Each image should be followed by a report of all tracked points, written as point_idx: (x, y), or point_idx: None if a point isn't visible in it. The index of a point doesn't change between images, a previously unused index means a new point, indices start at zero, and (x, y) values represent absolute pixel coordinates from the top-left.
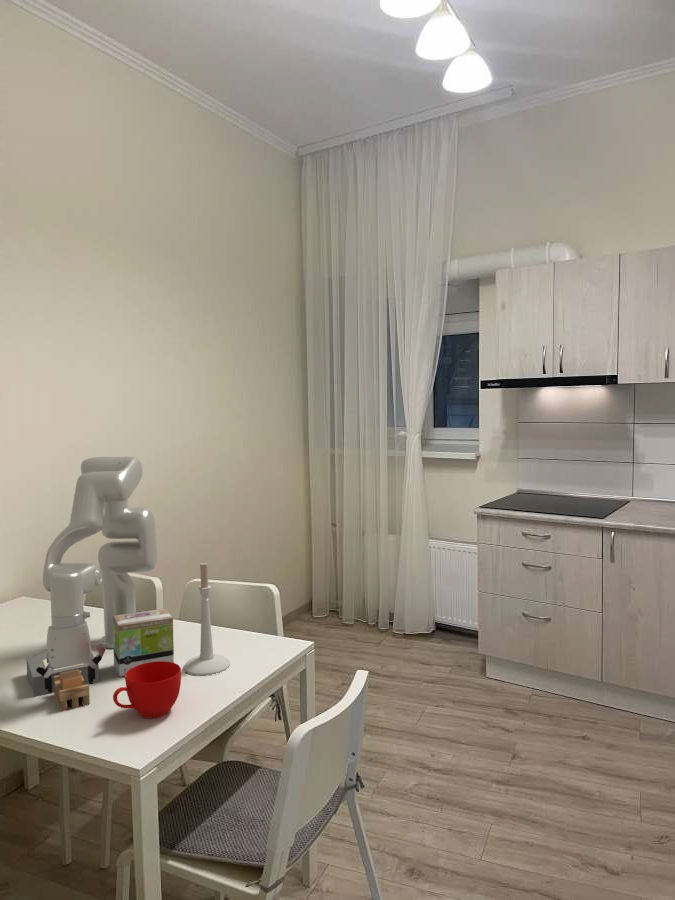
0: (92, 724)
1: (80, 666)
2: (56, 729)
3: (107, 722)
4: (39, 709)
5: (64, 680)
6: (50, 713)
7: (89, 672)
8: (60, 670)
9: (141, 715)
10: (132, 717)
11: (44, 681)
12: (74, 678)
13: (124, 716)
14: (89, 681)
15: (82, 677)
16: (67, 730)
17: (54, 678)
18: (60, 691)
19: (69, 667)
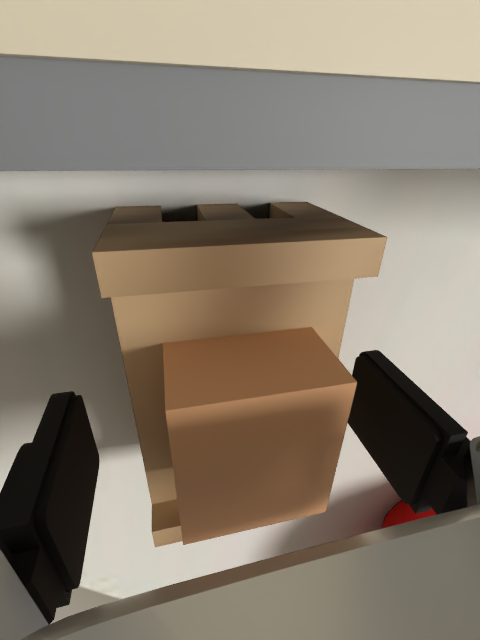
0: (250, 539)
1: (433, 123)
2: (133, 549)
3: (293, 536)
4: (32, 390)
5: (195, 537)
6: (102, 446)
7: (394, 477)
8: (184, 106)
9: (383, 526)
10: (360, 524)
11: (2, 494)
12: (271, 518)
13: (346, 517)
14: (354, 407)
15: (345, 310)
16: (170, 557)
17: (104, 292)
18: (157, 541)
19: (317, 75)
